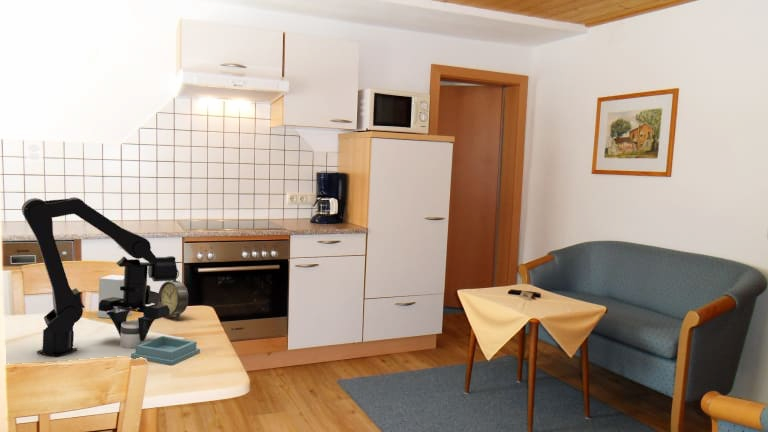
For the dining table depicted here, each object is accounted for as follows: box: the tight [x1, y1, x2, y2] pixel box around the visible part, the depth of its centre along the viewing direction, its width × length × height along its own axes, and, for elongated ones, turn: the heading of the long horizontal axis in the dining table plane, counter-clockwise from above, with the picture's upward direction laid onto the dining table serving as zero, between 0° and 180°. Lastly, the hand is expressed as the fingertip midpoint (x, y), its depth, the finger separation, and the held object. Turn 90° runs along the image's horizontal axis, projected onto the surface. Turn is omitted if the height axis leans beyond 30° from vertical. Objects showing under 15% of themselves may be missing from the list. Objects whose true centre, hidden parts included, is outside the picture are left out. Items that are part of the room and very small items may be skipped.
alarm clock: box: [158, 268, 190, 321], centre depth 188 cm, size 11×5×16 cm, turn 54°
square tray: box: [130, 335, 201, 366], centre depth 151 cm, size 12×12×3 cm
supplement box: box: [97, 274, 132, 319], centre depth 185 cm, size 7×7×13 cm
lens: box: [119, 319, 146, 349], centre depth 157 cm, size 6×6×6 cm
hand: (132, 339), depth 157 cm, fingers closed on lens, 6 cm apart
